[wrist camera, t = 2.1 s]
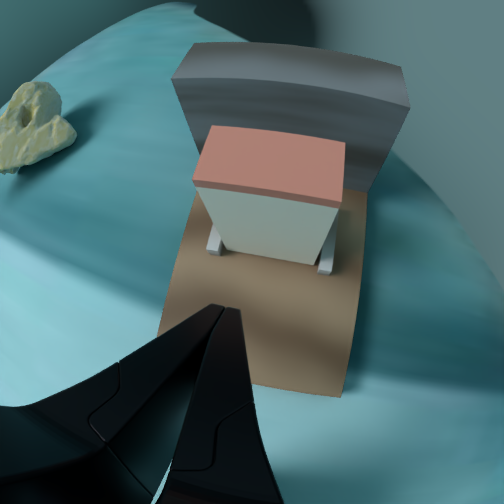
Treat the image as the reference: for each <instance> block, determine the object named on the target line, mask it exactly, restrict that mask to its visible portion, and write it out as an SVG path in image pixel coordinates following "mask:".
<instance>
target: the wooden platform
mask: <svg viewBox="0 0 504 504" xmlns="http://www.w3.org/2000/svg"><path fill="white" fill-rule="evenodd" d="M171 80H172V83H173V86H174V88H175V91H176V94H177V96H178V99H179V102H180V104H181V107H182V110H183V112H184V115H185V118H186V120H187V123H188V125H189V128H190V131H191V133H192V136H193V138H194V141H195V144H196V146H197V149H198V151H199V154H200V155H201V153H202V150H203V147H204V145H205V142H206V139H207V137H208V134H209V131H210V129H211V126H212V125H214V126H228V127H240V128H251V129H260V130H269V131H277V132H285V133H292V134H299V135H305V136H312V137H317V138H323V139H329V140H334V141H339V142H344V143H345V160H344V177H343V191H342V202H341V204H340V207H339V209H338V211H337V214H336V216H335V218H334V221H333V223H332V225H331V228H330V230H329V232H328V234H327V237H326V239H325V241H324V243H323V245H322V248H321V250H320V252H319V254H318V256H317V258H316V261H315V263H314V265H309V264H304V263H298V262H292V261H287V260H281V259H275V258H270V257H264V256H259V255H253V254H247V253H242V252H236V251H231V250H227V249H226V247H225V245H224V243H223V241H222V239H221V237H220V235H219V233H218V231H217V229H216V227H215V225H214V223H213V221H212V219H211V217H210V215H209V213H208V211H207V209H206V207H205V205H204V203H203V201H202V199H201V197H200V195H199V193H198V191H197V192H196V196H195V199H194V202H193V205H192V208H191V211H190V215H189V218H188V221H187V224H186V228H185V231H184V234H183V238H182V241H181V245H180V248H179V252H178V255H177V259H176V262H175V266H174V270H173V273H172V277H171V281H170V285H169V289H168V293H167V297H166V300H165V305H164V309H163V313H162V317H161V321H160V325H159V330H158V334H157V337H158V336H160V335H161V334H163V333H165V332H166V331H168V330H169V329H171V328H173V327H174V326H176V325H177V324H179V323H181V322H182V321H184V320H185V319H187V318H188V317H190V316H192V315H193V314H195V313H196V312H198V311H199V310H201V309H203V308H204V307H206V306H207V305H209V304H211V303H214V304H219V305H223V306H225V308H226V307H233V308H238V309H240V310H241V315H242V323H243V330H244V337H245V344H246V351H247V357H248V364H249V371H250V378H251V384H256V385H261V386H266V387H272V388H277V389H283V390H288V391H295V392H301V393H308V394H315V395H322V396H331V397H339V398H341V394H342V390H343V386H344V381H345V376H346V371H347V367H348V362H349V356H350V351H351V346H352V340H353V334H354V328H355V322H356V315H357V308H358V301H359V293H360V285H361V276H362V267H363V257H364V245H365V231H366V215H367V193H368V191H369V189H370V187H371V186H372V184H373V182H374V180H375V178H376V176H377V174H378V172H379V171H380V169H381V167H382V165H383V163H384V161H385V159H386V157H387V155H388V153H389V151H390V149H391V147H392V145H393V143H394V141H395V139H396V137H397V135H398V133H399V131H400V129H401V127H402V125H403V123H404V121H405V118H406V116H407V114H408V112H409V110H410V103H409V99H408V94H407V90H406V85H405V81H404V77H403V73H402V70H401V67H400V66H396V65H393V64H389V63H386V62H382V61H378V60H374V59H370V58H365V57H361V56H357V55H352V54H347V53H342V52H336V51H330V50H325V49H318V48H310V47H303V46H294V45H285V44H284V45H283V44H272V43H254V42H207V43H194V44H193V46H192V47H191V49H190V50H189V52H188V53H187V54H186V56H185V57H184V59H183V60H182V62H181V63H180V65H179V67H178V68H177V70H176V71H175V73H174V74H173V76H172V78H171Z"/></svg>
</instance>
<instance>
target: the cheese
mask: <svg viewBox="0 0 504 504" xmlns="http://www.w3.org/2000/svg"><path fill="white" fill-rule="evenodd" d="M61 105H62V101H61V97H60V95H59V94H58V92H57V91H56V89H55V88H54V87H53V86H52V85H51V84H50V83H47V82H38V81H34V82H26V83H24V84H22V85H21V86H20V88H19V89H18V90H17V91H16V92H15V93H14V95H13V97H12V99H11V101H10V103H9V105H8V108H7V110H6V111H5V113H4V114H3V115H2V116H1V118H0V173H2V174H4V175H5V174H6V173H11V174H15V173H16V172H17V171H18V168H19V167H21V166H24V165H31V164H33V163H36V162H38V161H40V160H41V159H43V158H47V157H50V156H52V155H53V154H54V153H55V152H58V151H60V150H62V149H64V148H66V147H68V146H70V145H71V144H72V143H74V141H75V139H76V137H77V132H76V131H75V130H74V128H73V127H72V126H71V124H69V123H68V121H66V120H65V119H64V118H63V117H62V116H60V115H61Z"/></svg>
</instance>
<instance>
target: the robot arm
mask: <svg viewBox="0 0 504 504" xmlns="http://www.w3.org/2000/svg"><path fill="white" fill-rule="evenodd" d="M171 461H172V463H171ZM170 463H171V466H170V471H169V473H168V476H167V480H166V482H165V485H164V488H163V490H162V493H161V494H160V496H159V498H158V500H157V501H156V503H155V504H285V503H284V501H283V499H282V496H281V493H280V491H279V488H278V485H277V483H276V480H275V477H274V475H273V472H272V469H271V466H270V463H269V461H268V458H267V455H266V452H265V448H264V445H263V442H262V438H261V435H260V430H259V426H258V421H257V416H256V409H255V404H254V397H253V391H252V384H251V378H250V371H249V364H248V357H247V351H246V344H245V337H244V330H243V323H242V315H241V310H240V309H238V308H233V307H226V308H225V306H223V305H219V304H214V303H211V304H209V305H207V306H206V307H204V308H203V309H201V310H199V311H198V312H196V313H195V314H193V315H192V316H190V317H188V318H187V319H185V320H184V321H182V322H181V323H179V324H177V325H176V326H174V327H173V328H171V329H169V330H168V331H166V332H165V333H163V334H161V335H160V336H158V337H157V338H155V339H153V340H152V341H150V342H149V343H147V344H145V345H144V346H142V347H141V348H139V349H137V350H136V351H134V352H133V353H131V354H129V355H128V356H126V357H124V358H123V359H121V360H120V361H119V363H118V362H116V363H114V364H113V365H111V366H109V367H108V368H106V369H104V370H103V371H101V372H99V373H97V374H96V375H94V376H92V377H90V378H88V379H86V380H84V381H82V382H80V383H78V384H76V385H74V386H72V387H70V388H67V389H65V390H63V391H61V392H58V393H56V394H54V395H52V396H49V397H47V398H45V399H42V400H40V401H38V402H35V403H32V404H29V405H25V406H19V407H9V406H0V504H151V502H152V500H153V497H154V496H155V494H156V492H157V490H158V488H159V486H160V484H161V481H162V479H163V477H164V475H165V473H166V471H167V469H168V467H169V465H170Z"/></svg>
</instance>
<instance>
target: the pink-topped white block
mask: <svg viewBox="0 0 504 504" xmlns="http://www.w3.org/2000/svg"><path fill="white" fill-rule="evenodd" d="M344 160H345V143H344V142H339V141H334V140H329V139H323V138H317V137H312V136H305V135H299V134H292V133H285V132H277V131H269V130H260V129H251V128H240V127H228V126H214V125H212V126H211V129H210V131H209V134H208V137H207V139H206V142H205V145H204V147H203V150H202V153H201V155H200V158H199V161H198V164H197V166H196V169H195V172H194V175H193V178H192V181H193V183H194V185H195V187H196V189H197V191H198V193H199V195H200V197H201V199H202V201H203V203H204V205H205V207H206V209H207V211H208V213H209V215H210V217H211V219H212V221H213V223H214V225H215V227H216V229H217V231H218V233H219V235H220V237H221V239H222V241H223V243H224V245H225V247H226V249H227V250H231V251H236V252H242V253H247V254H253V255H259V256H264V257H270V258H275V259H281V260H287V261H292V262H298V263H304V264H309V265H314V263H315V261H316V258H317V256H318V254H319V252H320V250H321V248H322V245H323V243H324V241H325V239H326V237H327V234H328V232H329V230H330V228H331V225H332V223H333V221H334V218H335V216H336V214H337V211H338V209H339V207H340V204H341V202H342V191H343V177H344Z"/></svg>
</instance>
